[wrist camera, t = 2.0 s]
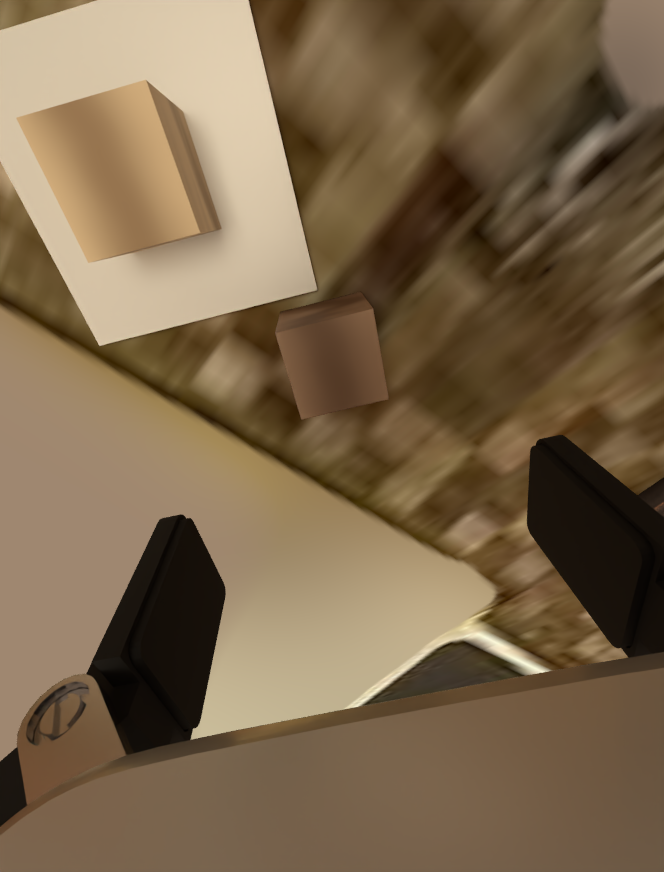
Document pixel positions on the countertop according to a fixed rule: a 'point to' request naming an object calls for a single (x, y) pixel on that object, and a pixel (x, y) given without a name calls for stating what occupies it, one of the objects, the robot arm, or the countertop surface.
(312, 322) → the walnut cube
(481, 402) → the countertop surface
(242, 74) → the plate
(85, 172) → the oak cube
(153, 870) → the robot arm
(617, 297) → the countertop surface
